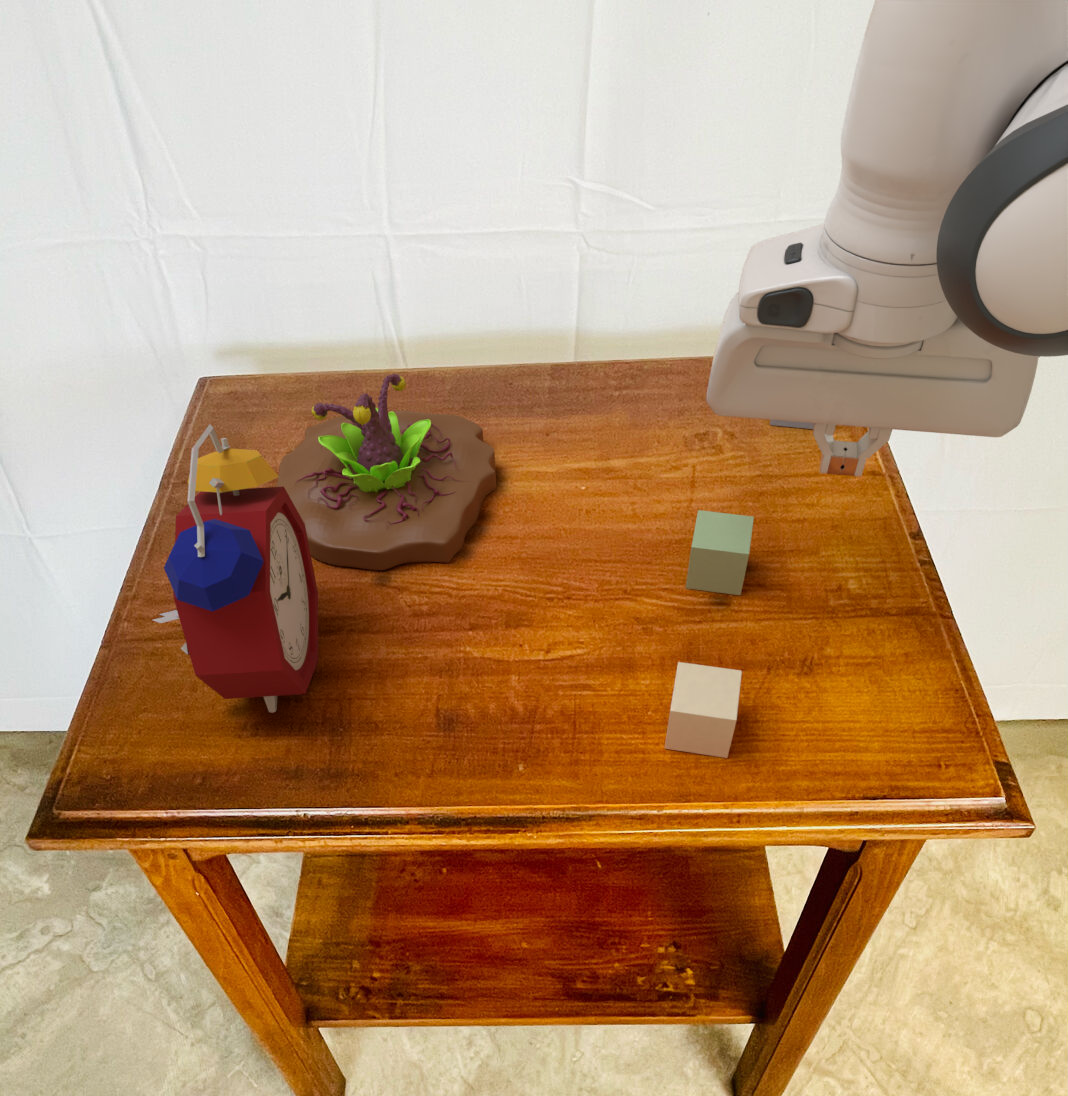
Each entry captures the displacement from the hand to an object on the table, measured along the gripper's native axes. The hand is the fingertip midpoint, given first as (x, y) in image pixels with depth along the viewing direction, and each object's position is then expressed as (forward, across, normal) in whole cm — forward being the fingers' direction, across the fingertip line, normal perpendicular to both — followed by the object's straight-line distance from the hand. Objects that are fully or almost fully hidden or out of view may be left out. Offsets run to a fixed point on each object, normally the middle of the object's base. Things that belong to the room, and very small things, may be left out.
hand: (840, 470), depth 65 cm
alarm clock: (+10, +41, +17) cm, 46 cm away
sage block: (+11, +8, 0) cm, 13 cm away
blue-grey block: (+11, +3, -23) cm, 26 cm away
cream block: (+11, +7, +17) cm, 21 cm away
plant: (+10, +38, -4) cm, 40 cm away
